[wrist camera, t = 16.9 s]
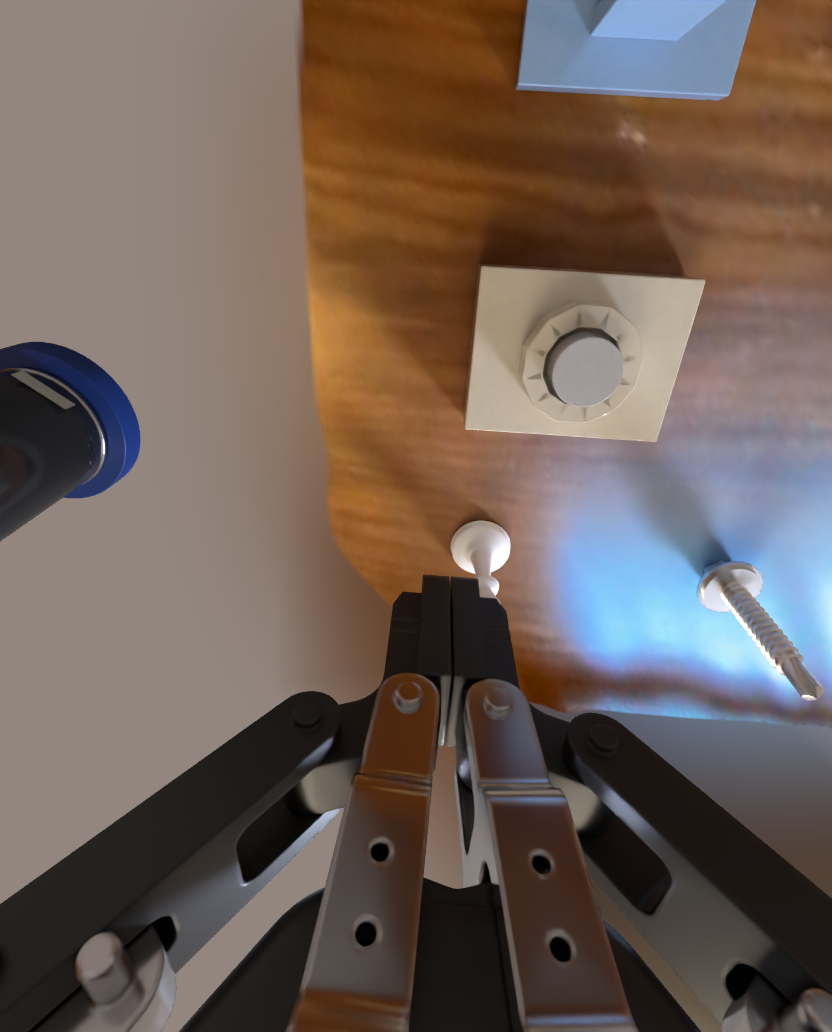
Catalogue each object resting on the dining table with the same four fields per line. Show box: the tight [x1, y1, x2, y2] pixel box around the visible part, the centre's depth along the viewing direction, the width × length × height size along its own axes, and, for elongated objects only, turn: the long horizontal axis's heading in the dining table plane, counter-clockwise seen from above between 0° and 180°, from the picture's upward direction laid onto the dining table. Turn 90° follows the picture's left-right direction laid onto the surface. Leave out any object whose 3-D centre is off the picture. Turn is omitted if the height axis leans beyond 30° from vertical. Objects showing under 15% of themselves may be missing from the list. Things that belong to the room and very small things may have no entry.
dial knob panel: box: [463, 263, 706, 442], centre depth 32 cm, size 13×10×4 cm
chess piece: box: [451, 521, 510, 603], centre depth 38 cm, size 5×5×10 cm
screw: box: [697, 560, 824, 700], centre depth 37 cm, size 13×5×5 cm
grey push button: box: [547, 332, 623, 407], centre depth 30 cm, size 4×4×2 cm
